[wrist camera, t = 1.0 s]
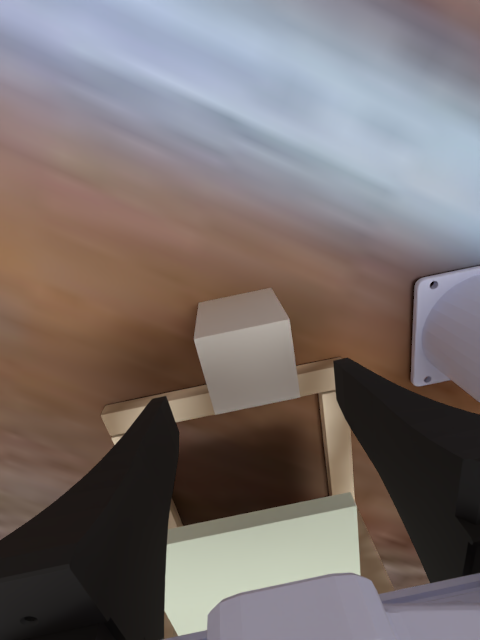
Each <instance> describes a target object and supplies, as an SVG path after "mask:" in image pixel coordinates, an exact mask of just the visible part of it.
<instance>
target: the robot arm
mask: <svg viewBox="0 0 480 640" xmlns="http://www.w3.org/2000/svg"><path fill="white" fill-rule="evenodd" d="M433 281H434V284H433V285H432V287H430V284H431V283H432V282H433ZM333 364H334V377H335V390H336V400H337V402H338V404H339V407H340V409H341V411H342V413H343V415H344V417H345V420H346V421H347V423H348V425H349V426H350V428H351V429H352V431H353V433H354V434H355V436H356V437H357V439H358V441H359V442H360V444H361V445H362V447H363V449H364V450H365V452H366V453H367V455H368V456H369V458H370V460H371V461H372V463H373V464H374V466H375V468H376V470H377V471H378V473H379V475H380V477H381V479H382V481H383V483H384V485H385V486H386V488H387V490H388V492H389V494H390V496H391V498H392V500H393V503H394V505H395V507H396V509H397V511H398V513H399V515H400V517H401V519H402V521H403V523H404V525H405V528H406V530H407V532H408V534H409V536H410V539H411V541H412V543H413V545H414V547H415V549H416V552H417V554H418V556H419V558H420V560H421V563H422V565H423V567H424V570H425V572H426V574H427V577H428V579H429V581H430V583H429V584H424V585H419V586H415V587H410V588H405V589H400V590H396V591H391V592H386V593H381V594H378V592H377V590H376V588H375V586H374V585H373V583H372V581H371V580H369V579H368V578H366V577H363V576H360V575H357V574H355V573H352V572H351V573H332V574H327V575H323V576H318V577H313V578H308V579H304V580H299V581H294V582H289V583H285V584H280V585H275V586H270V587H265V588H261V589H256V590H251V591H246V592H242V593H238V594H236V595H233V596H230V597H228V598H225V599H223V600H221V601H220V602H219V603H218V604H217V605H216V606H215V607H214V608H213V609H212V610H211V611H210V613H209V614H208V619H207V630H205V631H200V632H195V633H191V634H186V635H181V636H176V637H171V638H167V639H164V608H165V574H166V552H167V536H168V521H169V512H170V505H171V499H172V493H173V487H174V481H175V475H176V469H177V462H178V456H179V430H178V428H177V425H176V422H175V419H174V416H173V413H172V411H171V408H170V405H169V402H168V399H167V397H166V396H163V397H158V398H153V399H151V401H150V402H149V403H148V404H147V406H146V407H145V408H144V410H143V411H142V412H141V414H140V415H139V416H138V417H137V419H136V420H135V421H134V423H133V424H132V425H131V426H130V428H129V429H128V430H127V431H126V433H125V434H124V435H123V436H122V437H121V438H120V440H119V441H118V442H117V443H116V444H115V445H114V447H113V448H112V449H111V450H110V451H109V452H108V453H107V454H106V456H105V457H104V458H103V459H102V460H101V461H100V462H99V463H98V464H97V465H96V466H95V467H94V468H93V469H92V470H91V471H90V472H89V473H88V474H86V475H85V476H84V477H83V478H82V479H81V480H80V481H79V482H77V483H76V484H75V485H74V486H73V487H72V488H71V489H69V490H68V491H67V492H66V493H65V494H64V495H62V496H61V497H60V498H59V499H57V500H56V501H55V502H54V503H52V504H51V505H50V506H49V507H47V508H46V509H45V510H43V511H42V512H41V513H39V514H38V515H37V516H35V517H34V518H32V519H31V520H30V521H28V522H27V523H25V524H24V525H22V526H21V527H19V528H18V529H16V530H15V531H14V532H12V533H11V534H9V535H8V536H6V537H5V538H3V539H2V540H0V640H480V415H478V414H475V413H471V412H467V411H464V410H461V409H458V408H454V407H451V406H448V405H445V404H442V403H439V402H436V401H434V400H431V399H429V398H426V397H424V396H421V395H418V394H416V393H414V392H411V391H409V390H407V389H405V388H403V387H401V386H399V385H396V384H394V383H392V382H390V381H389V380H387V379H385V378H383V377H381V376H379V375H377V374H375V373H374V372H372V371H370V370H368V369H367V368H365V367H363V366H361V365H360V364H358V363H356V362H354V361H353V360H351V359H349V358H344V359H339V360H334V361H333ZM426 377H427V378H426ZM425 378H426V379H425ZM448 380H452V381H453V382H454V383H456V384H457V385H458V386H459V387H461V388H462V389H463V390H464V391H466V392H467V393H468V394H469V395H471V396H472V397H473V398H474V399H476V400H477V401H478V402H479V403H480V266H476V267H471V268H466V269H461V270H457V271H452V272H447V273H442V274H437V275H433V276H428V277H423V278H420V279H419V280H418V281H417V282H416V283H415V286H414V309H413V334H412V359H411V382H412V383H413V384H414V385H415V386H424V385H429V384H434V383H439V382H444V381H448Z"/></svg>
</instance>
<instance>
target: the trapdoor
mask: <svg viewBox="0 0 480 640" xmlns="http://www.w3.org/2000/svg"><path fill="white" fill-rule="evenodd" d="M351 572H352V573H355V574H357V575H360V557H359V540H358V522H357V506H356V503H355V501H354V499H353V497H352V495H351V492H348V493H343V494H338V495H333V496H328V497H323V498H318V499H313V500H309V501H304V502H299V503H294V504H289V505H284V506H279V507H274V508H270V509H265V510H260V511H255V512H250V513H245V514H240V515H235V516H230V517H226V518H221V519H216V520H211V521H206V522H201V523H196V524H191V525H187V526H182V527H177V528H172V529H168V536H167V552H166V574H165V608H164V611H165V613H166V614H167V616H168V618H169V620H170V622H171V624H172V625H173V627H174V629H175V631H176V633H177V634H178V636H181V635H186V634H191V633H195V632H200V631H205V630H207V619H208V614H209V613H210V611H211V610H212V609H213V608H214V607H215V606H216V605H217V604H218V603H219V602H220V601H221V600H223V599H225V598H228V597H230V596H233V595H236V594H238V593H242V592H246V591H251V590H256V589H261V588H265V587H270V586H275V585H280V584H285V583H289V582H294V581H299V580H304V579H308V578H313V577H318V576H323V575H327V574H332V573H351ZM360 576H361V575H360Z"/></svg>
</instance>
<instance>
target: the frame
mask: <svg viewBox="0 0 480 640" xmlns="http://www.w3.org/2000/svg"><path fill="white" fill-rule="evenodd" d="M339 359H342V358H341V357H338V358H333V359H328V360H323V361H318V362H313V363H309V364H304V365H299V366H296V370H297V377H298V384H299V392H300V397H302V396H306V395H311V394H316V393H318V396H319V405H320V414H321V423H322V433H323V442H324V451H325V460H326V470H327V479H328V488H329V496H333V495H338V494H343V493H348V492H351V495H352V497H353V499H354V501H355V497H354V480H353V463H352V447H351V430H350V426H349V425H348V423H347V421H346V420H345V417H344V415H343V413H342V411H341V409H340V407H339V404H338V402H337V400H336V390H335V377H334V364H333V361H334V360H339ZM163 396H166V397H167V399H168V402H169V405H170V408H171V411H172V413H173V416H174V419H175V422H180V421H185V420H190V419H195V418H200V417H205V416H209V415H214V414H215V412H214V409H213V405H212V402H211V398H210V395H209V391H208V388H207V385H202V386H197V387H192V388H188V389H183V390H178V391H173V392H168V393H163V394H159V395H154V396H149V397H144V398H139V399H134V400H130V401H125V402H120V403H115V404H110V405H106V406H105V408H104V410H103V411H102V413H101V417H102V419H103V422H104V424H105V426H106V428H107V430H108V432H109V434H110V436H112V440H113V443H114V445H115V444H116V443H117V442H118V441H119V440H120V438H121V437H122V436H123V435H124V434H125V433H126V431H127V430H128V429H129V428H130V426H131V425H132V424H133V423H134V421H135V420H136V419H137V417H138V416H139V415H140V414H141V412H142V411H143V410H144V408H145V407H146V406H147V404H148V403H149V402H150V401H151V399H153V398H158V397H163ZM357 522H358V540H359V557H360V575H361V576H363V577H366V578H368V579H369V580H371V581H372V583H373V585H374V586H375V588H376V590H377V592H378V594H381V593H386V592H391V591H395V590H394V588H393V586H392V583H391V581H390V579H389V577H388V574H387V572H386V570H385V568H384V566H383V563H382V561H381V559H380V557H379V555H378V552H377V550H376V548H375V546H374V543H373V541H372V539H371V537H370V535H369V532H368V530H367V528H366V526H365V523H364V521H363V519H362V517H361V515H360V512H359V510H358V508H357ZM182 526H183V524H182V521H181V519H180V517H179V514H178V512H177V509H176V507H175V504H174V502H173V500H172V499H171V505H170V512H169V521H168V529H172V528H177V527H182ZM176 636H178V634H177V633H176V631H175V629H174V627H173V625H172V624H171V622H170V620H169V618H168V616H167V614H166V613H165V611H164V639H167V638H171V637H176Z"/></svg>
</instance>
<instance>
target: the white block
mask: <svg viewBox="0 0 480 640" xmlns="http://www.w3.org/2000/svg"><path fill="white" fill-rule="evenodd" d="M194 342H195V345H196V349H197V352H198V356H199V360H200V363H201V367H202V370H203V374H204V377H205V381H206V384H207V388H208V391H209V395H210V398H211V402H212V405H213V409H214V412H215V415H217V414H222V413H227V412H232V411H236V410H241V409H246V408H251V407H256V406H261V405H266V404H270V403H275V402H280V401H285V400H290V399H295V398H299V397H300V392H299V384H298V377H297V370H296V362H295V355H294V348H293V341H292V333H291V326H290V319H289V317H288V316H287V314H286V312H285V311H284V309H283V307H282V305H281V304H280V302H279V300H278V299H277V297H276V295H275V293H274V292H273V290H272V288H267V289H262V290H258V291H253V292H248V293H243V294H238V295H234V296H229V297H224V298H219V299H214V300H209V301H205V302H200V303H199V304H198V311H197V319H196V326H195V333H194Z"/></svg>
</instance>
